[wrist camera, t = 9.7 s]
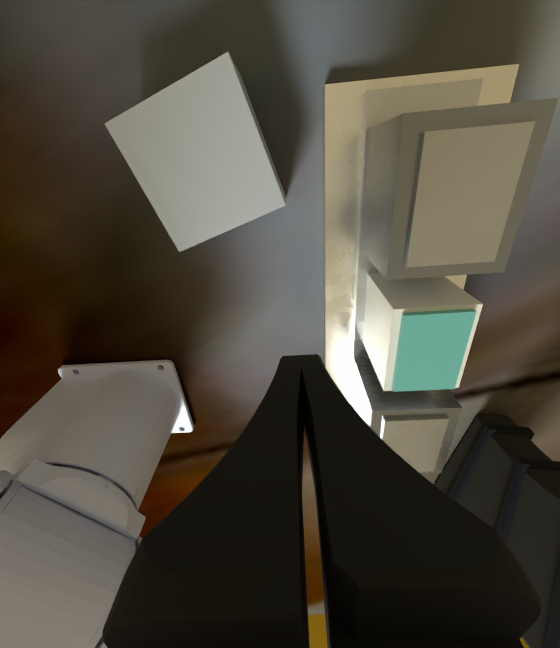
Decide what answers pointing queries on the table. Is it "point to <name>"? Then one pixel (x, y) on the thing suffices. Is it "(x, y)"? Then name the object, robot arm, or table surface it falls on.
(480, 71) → the rail panel
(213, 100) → the block
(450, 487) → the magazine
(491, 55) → the table surface
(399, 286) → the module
